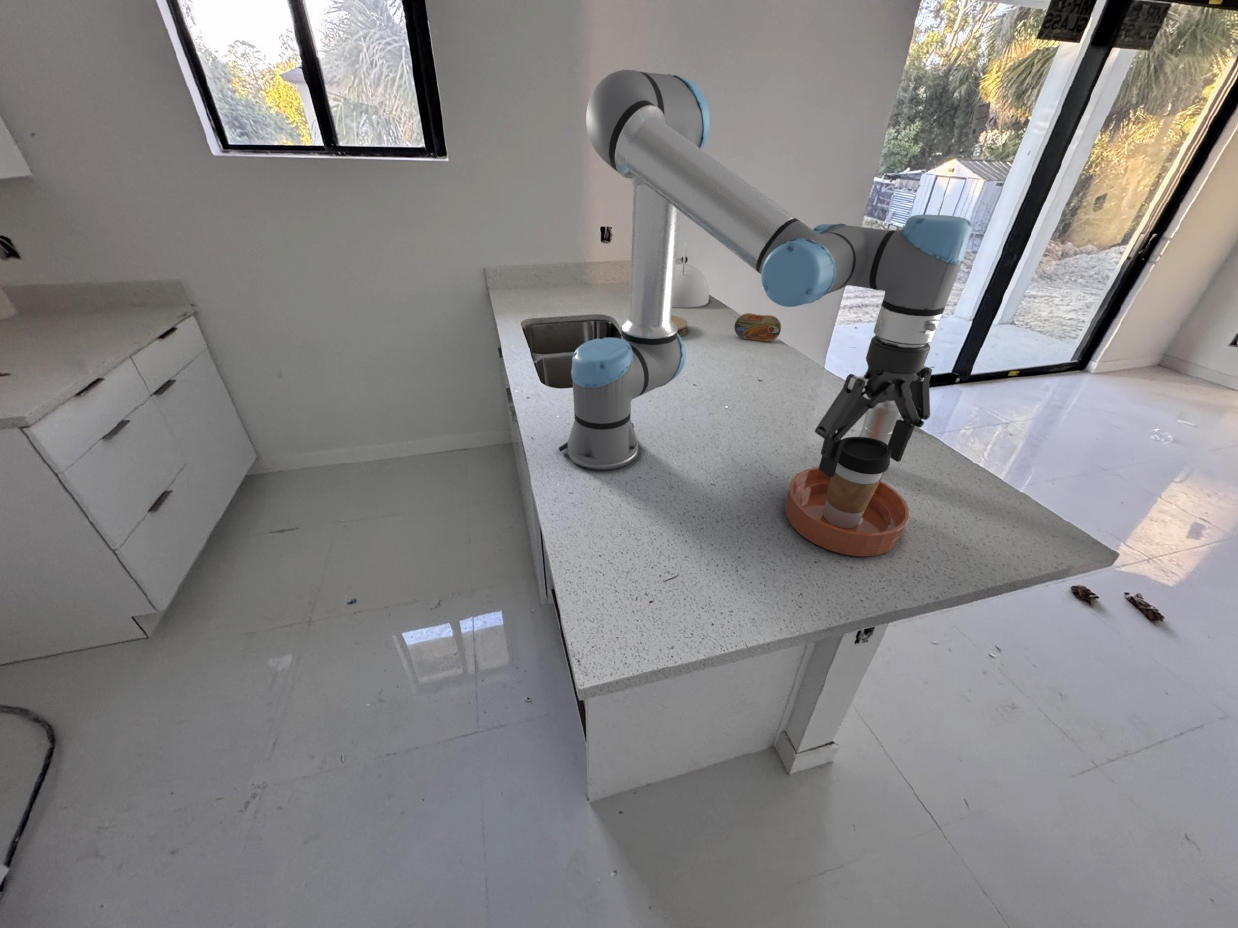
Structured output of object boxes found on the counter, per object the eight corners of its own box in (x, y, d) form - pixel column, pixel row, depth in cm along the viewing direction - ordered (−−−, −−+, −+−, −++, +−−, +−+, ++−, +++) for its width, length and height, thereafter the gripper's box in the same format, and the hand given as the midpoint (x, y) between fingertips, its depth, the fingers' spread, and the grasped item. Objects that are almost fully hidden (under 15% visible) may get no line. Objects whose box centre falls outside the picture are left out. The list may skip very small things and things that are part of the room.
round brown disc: (681, 340, 163) (681, 331, 162) (635, 334, 168) (636, 326, 166) (690, 325, 176) (691, 317, 174) (648, 321, 180) (648, 313, 178)
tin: (732, 337, 166) (736, 313, 161) (734, 334, 168) (738, 310, 164) (777, 343, 161) (782, 318, 156) (779, 340, 164) (784, 315, 159)
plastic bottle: (880, 478, 98) (914, 386, 86) (844, 467, 100) (873, 378, 89) (884, 463, 102) (918, 374, 91) (850, 453, 105) (879, 366, 94)
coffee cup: (871, 536, 82) (900, 463, 74) (819, 529, 84) (841, 456, 75) (861, 506, 89) (886, 435, 81) (813, 500, 91) (833, 430, 82)
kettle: (656, 290, 217) (659, 235, 204) (708, 292, 214) (714, 236, 202) (652, 306, 196) (654, 245, 183) (708, 308, 194) (715, 247, 181)
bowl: (832, 570, 77) (840, 547, 74) (763, 499, 92) (768, 477, 89) (925, 542, 82) (936, 520, 79) (845, 479, 97) (852, 459, 94)
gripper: (848, 359, 62) (811, 492, 74) (991, 337, 69) (936, 462, 80) (810, 340, 68) (782, 466, 79) (945, 322, 75) (901, 440, 86)
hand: (859, 465), depth 80 cm, fingers open, 13 cm apart
